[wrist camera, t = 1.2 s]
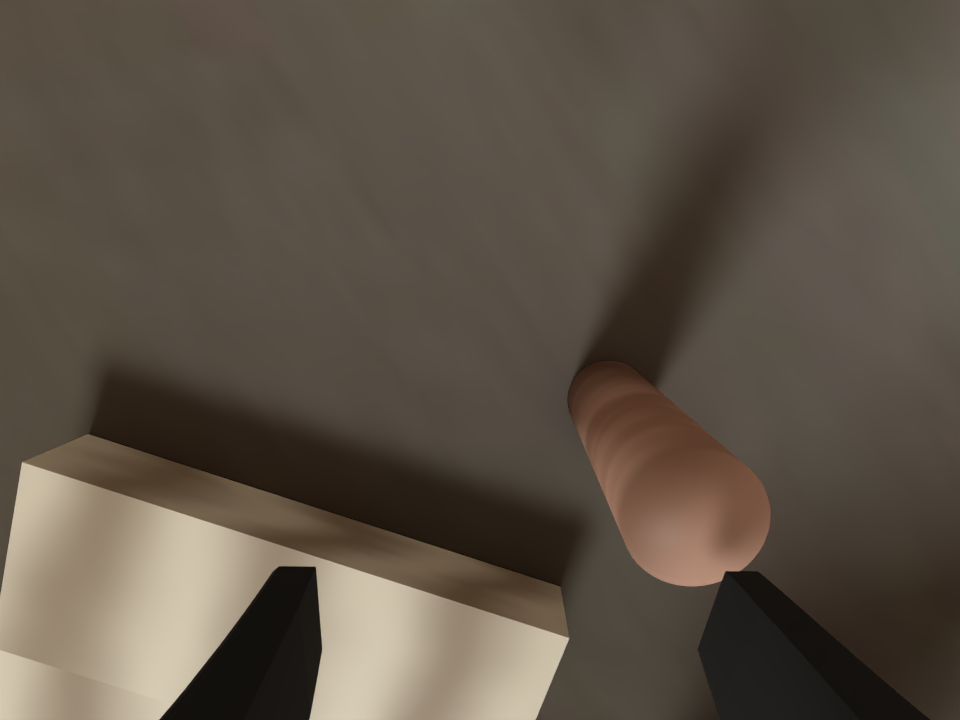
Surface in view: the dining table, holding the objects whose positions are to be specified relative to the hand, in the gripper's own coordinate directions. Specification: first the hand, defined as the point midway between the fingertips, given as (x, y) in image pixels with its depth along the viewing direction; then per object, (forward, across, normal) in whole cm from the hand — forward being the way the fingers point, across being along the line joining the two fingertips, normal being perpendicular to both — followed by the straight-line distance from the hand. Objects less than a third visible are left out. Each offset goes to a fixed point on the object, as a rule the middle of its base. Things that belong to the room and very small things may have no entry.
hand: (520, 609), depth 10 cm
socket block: (+9, +8, +16) cm, 20 cm away
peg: (+11, -5, +2) cm, 12 cm away
